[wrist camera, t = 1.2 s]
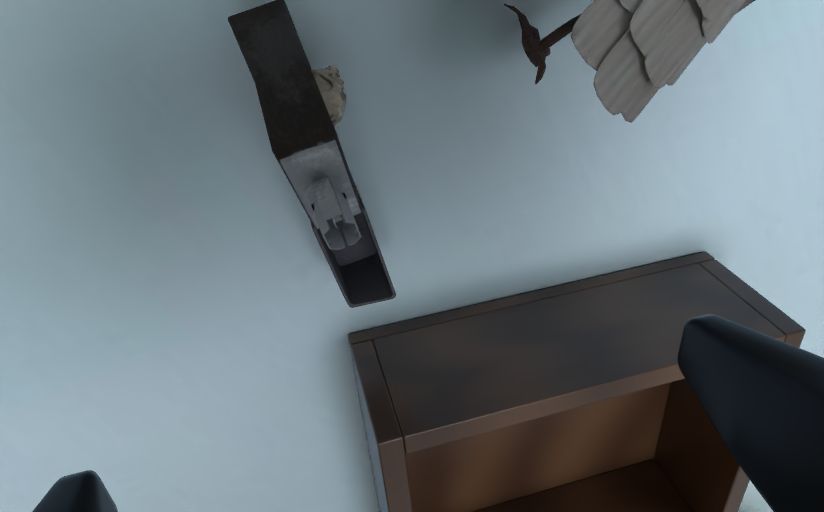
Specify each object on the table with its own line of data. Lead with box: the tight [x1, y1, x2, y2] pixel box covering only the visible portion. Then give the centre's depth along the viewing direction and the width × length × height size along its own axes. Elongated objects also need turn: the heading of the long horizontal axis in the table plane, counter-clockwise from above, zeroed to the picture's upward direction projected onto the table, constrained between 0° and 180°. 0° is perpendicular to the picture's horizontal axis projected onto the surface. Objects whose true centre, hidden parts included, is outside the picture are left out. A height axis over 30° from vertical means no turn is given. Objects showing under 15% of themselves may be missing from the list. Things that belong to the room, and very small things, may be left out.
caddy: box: [348, 252, 805, 512], centre depth 24 cm, size 15×13×5 cm
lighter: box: [228, 0, 396, 308], centre depth 16 cm, size 8×2×5 cm
